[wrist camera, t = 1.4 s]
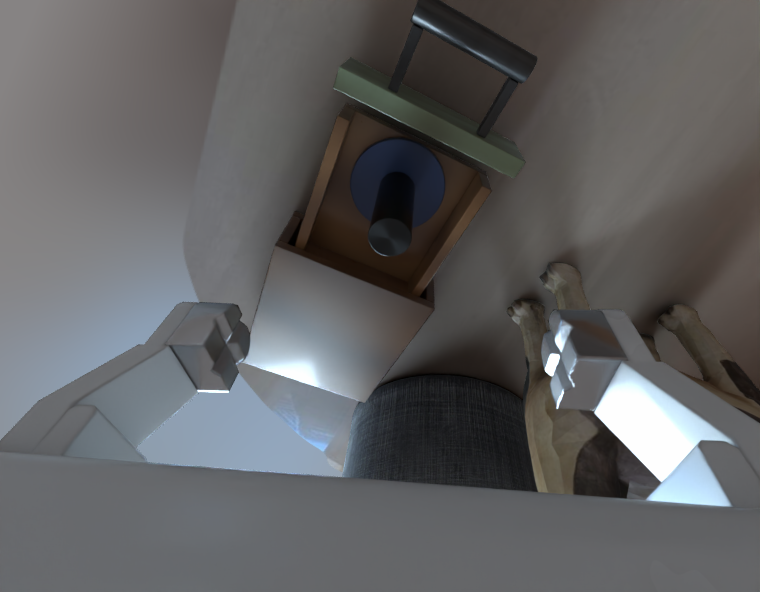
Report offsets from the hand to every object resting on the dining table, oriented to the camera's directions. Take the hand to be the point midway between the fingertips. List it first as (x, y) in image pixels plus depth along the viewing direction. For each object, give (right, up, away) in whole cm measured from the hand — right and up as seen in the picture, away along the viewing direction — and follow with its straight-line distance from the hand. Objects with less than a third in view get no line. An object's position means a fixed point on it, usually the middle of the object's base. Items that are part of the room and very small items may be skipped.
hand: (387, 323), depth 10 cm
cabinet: (-4, 0, +28) cm, 28 cm away
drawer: (+2, +10, +18) cm, 21 cm away
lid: (+1, +9, +18) cm, 20 cm away
